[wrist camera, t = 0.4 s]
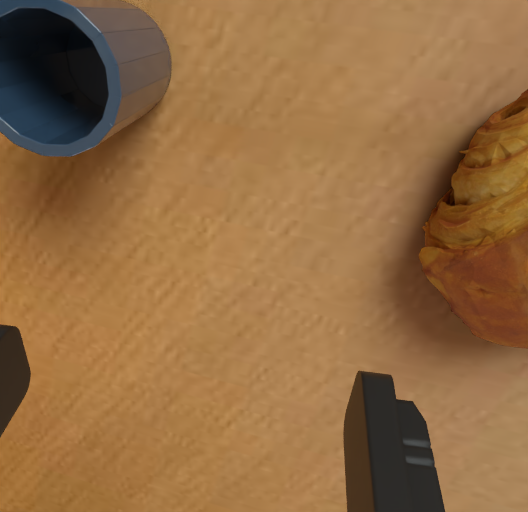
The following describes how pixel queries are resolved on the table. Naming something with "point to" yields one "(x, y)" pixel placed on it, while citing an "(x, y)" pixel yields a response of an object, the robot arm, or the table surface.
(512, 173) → the croissant
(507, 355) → the table surface
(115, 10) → the cup
